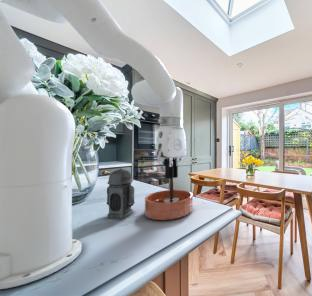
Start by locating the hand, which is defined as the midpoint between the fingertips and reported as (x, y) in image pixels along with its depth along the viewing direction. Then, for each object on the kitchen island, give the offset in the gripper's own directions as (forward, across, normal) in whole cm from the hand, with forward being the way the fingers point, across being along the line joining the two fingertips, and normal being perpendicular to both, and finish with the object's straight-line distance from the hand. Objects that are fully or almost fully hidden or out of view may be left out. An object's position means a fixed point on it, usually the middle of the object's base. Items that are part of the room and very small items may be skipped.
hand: (171, 177), depth 58 cm
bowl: (+12, -1, 0) cm, 12 cm away
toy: (+12, -10, +12) cm, 19 cm away
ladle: (+10, 0, 0) cm, 10 cm away
